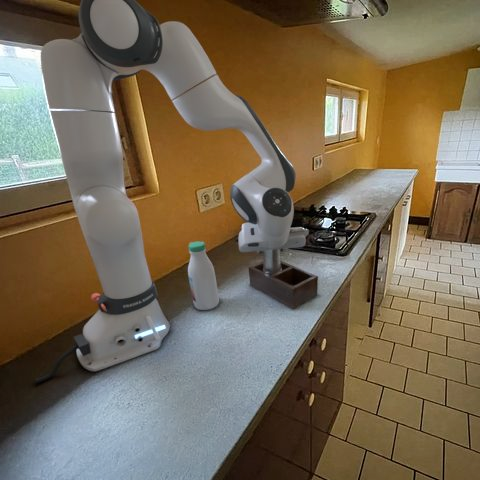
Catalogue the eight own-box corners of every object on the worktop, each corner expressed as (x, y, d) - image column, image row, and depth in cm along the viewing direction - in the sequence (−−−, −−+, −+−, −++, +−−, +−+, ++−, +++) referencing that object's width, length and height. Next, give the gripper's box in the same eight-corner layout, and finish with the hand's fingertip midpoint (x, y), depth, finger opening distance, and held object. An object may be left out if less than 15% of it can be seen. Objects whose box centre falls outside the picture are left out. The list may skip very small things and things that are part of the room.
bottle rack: (293, 309, 89) (292, 289, 86) (250, 285, 103) (248, 267, 99) (317, 295, 95) (318, 276, 92) (273, 274, 109) (273, 257, 106)
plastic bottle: (281, 286, 98) (278, 227, 89) (260, 285, 99) (256, 226, 90) (284, 277, 103) (282, 220, 94) (265, 276, 105) (261, 220, 96)
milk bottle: (223, 298, 96) (215, 239, 86) (212, 312, 89) (202, 250, 80) (201, 296, 98) (191, 238, 88) (189, 309, 91) (176, 248, 82)
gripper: (308, 218, 86) (301, 238, 99) (236, 224, 84) (238, 244, 97) (311, 238, 84) (304, 256, 97) (238, 245, 82) (240, 262, 95)
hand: (270, 250), depth 97 cm, fingers closed on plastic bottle, 6 cm apart
